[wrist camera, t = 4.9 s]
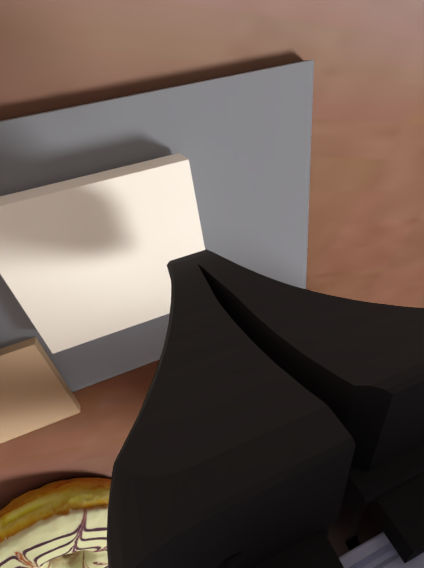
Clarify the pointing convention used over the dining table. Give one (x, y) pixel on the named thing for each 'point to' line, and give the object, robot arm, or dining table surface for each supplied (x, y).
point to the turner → (31, 390)
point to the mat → (205, 174)
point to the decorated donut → (57, 526)
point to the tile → (99, 248)
